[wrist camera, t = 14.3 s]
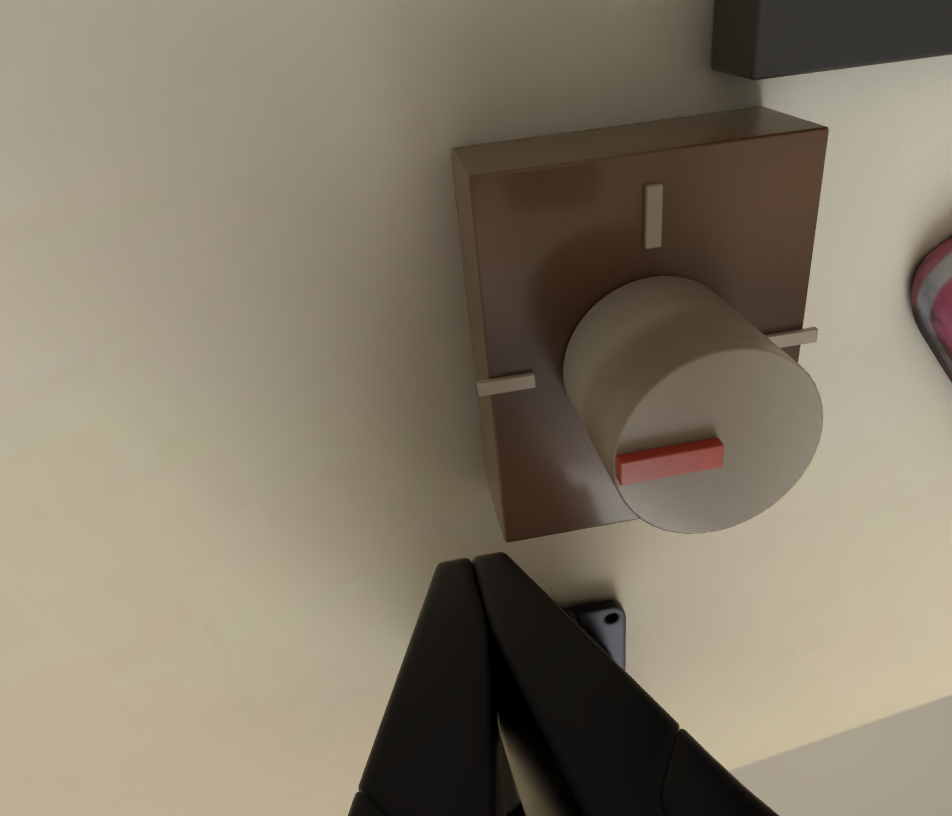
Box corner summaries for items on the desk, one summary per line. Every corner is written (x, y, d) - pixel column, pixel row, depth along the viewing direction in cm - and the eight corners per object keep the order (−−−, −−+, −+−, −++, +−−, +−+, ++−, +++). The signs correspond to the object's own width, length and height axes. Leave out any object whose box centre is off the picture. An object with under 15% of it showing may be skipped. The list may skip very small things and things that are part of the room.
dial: (741, 261, 18) (847, 337, 14) (729, 421, 20) (817, 522, 16) (558, 290, 17) (617, 376, 14) (566, 450, 20) (618, 560, 16)
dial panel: (743, 437, 24) (794, 495, 22) (477, 482, 24) (495, 549, 21) (775, 104, 19) (847, 126, 16) (437, 149, 18) (455, 180, 16)
